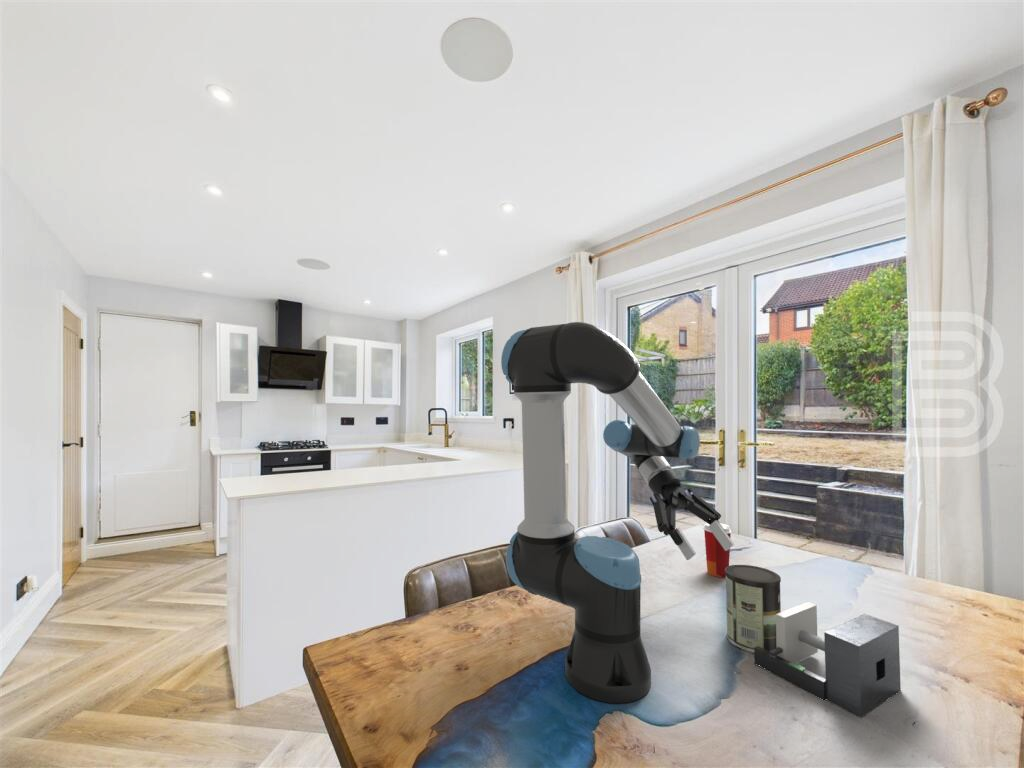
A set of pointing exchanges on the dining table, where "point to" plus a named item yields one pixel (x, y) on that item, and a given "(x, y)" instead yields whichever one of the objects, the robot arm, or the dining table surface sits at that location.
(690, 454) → the robot arm
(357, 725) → the dining table surface
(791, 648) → the pressure pad
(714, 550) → the paper cup
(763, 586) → the coffee can
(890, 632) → the frame
